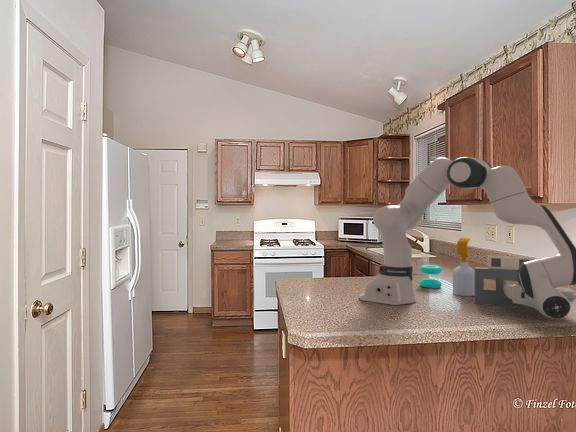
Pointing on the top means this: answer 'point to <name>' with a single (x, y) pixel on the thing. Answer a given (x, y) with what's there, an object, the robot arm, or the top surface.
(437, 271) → the donuts
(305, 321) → the top surface
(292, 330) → the top surface
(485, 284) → the button left
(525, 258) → the panel
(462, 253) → the soap bottle
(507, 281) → the button mid
